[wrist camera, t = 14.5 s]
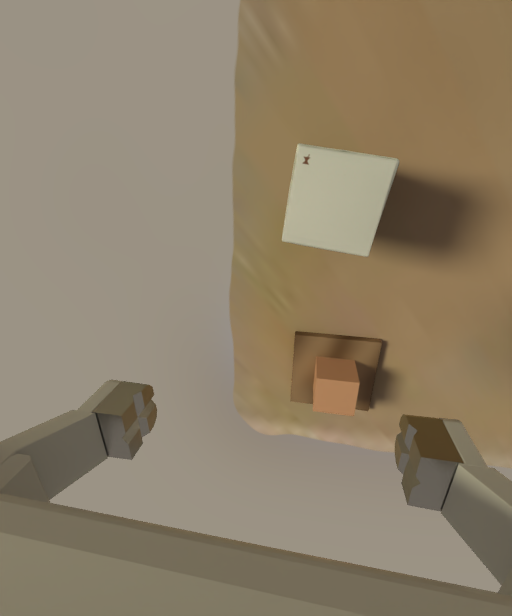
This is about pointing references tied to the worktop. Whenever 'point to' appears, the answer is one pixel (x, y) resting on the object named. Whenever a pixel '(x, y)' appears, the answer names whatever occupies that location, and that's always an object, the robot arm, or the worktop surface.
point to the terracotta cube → (335, 386)
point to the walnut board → (333, 347)
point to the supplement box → (337, 198)
